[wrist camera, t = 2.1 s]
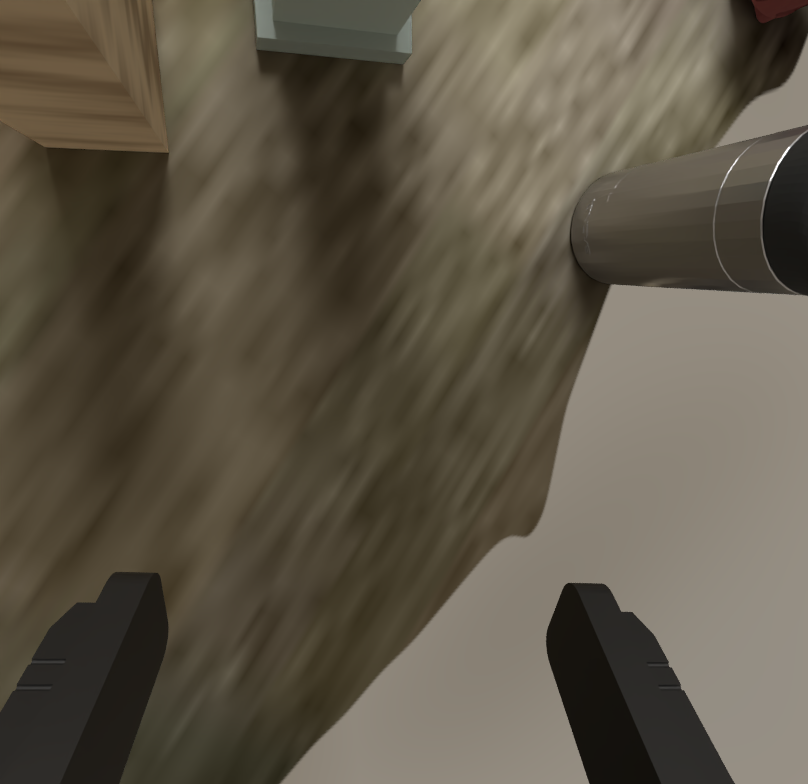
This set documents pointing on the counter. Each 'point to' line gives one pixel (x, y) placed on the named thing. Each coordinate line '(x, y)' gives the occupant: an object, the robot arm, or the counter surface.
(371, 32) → the frame
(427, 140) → the counter surface
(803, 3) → the mechanical component
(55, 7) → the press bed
